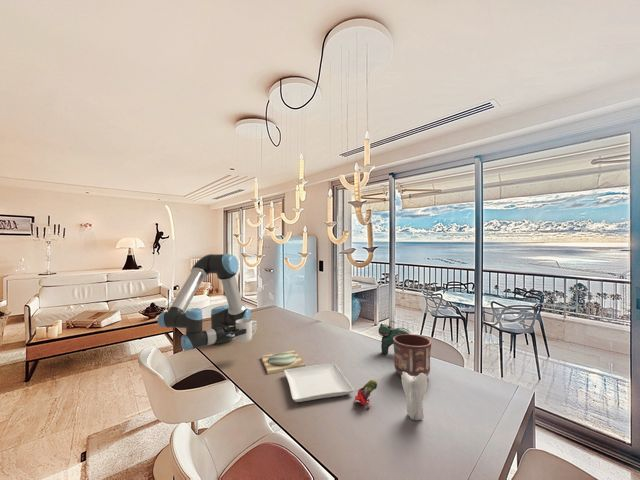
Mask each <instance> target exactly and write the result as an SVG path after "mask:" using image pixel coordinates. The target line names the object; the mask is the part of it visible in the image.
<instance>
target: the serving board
mask: <svg viewBox="0 0 640 480" xmlns="http://www.w3.org/2000/svg"><path fill="white" fill-rule="evenodd" d="M260 359H261V362H262V363H263V366H264V368H265V372H266V373H267V375H269V374H274V373H275V374H276V373H281V372H284V370H287V369H293V368H300V367H306V363H305V362H304V360H303V359H302V358H301V357H300V356H299V354H298V353H297V352H296V350H288V351H282V352H277V353H271V354H264V355H261V356H260Z"/></svg>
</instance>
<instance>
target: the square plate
mask: <svg viewBox="0 0 640 480" xmlns="http://www.w3.org/2000/svg"><path fill="white" fill-rule="evenodd" d="M283 373H284V375H285V377H286V380H287V383H288V385H289V390H290V395H291V398H292V400H293V401H294V402H295V403H299V402H300V403H302V402H308V401H314V400H319V399H326V398H333V397H340V396H346V395H350V394H352V393H354V391H355V388H354V387H353V386H352V384H351V383H350V382H349V381H348V379H347V377H345V375H344V374H343V373H342V371H341V370H340V368H339V367H338V366H337V364H336V363H325V364H316V365H308V366H306V365H305V367H300V368H293V369H287V370H284V371H283Z"/></svg>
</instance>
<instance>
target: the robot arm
mask: <svg viewBox="0 0 640 480" xmlns="http://www.w3.org/2000/svg"><path fill="white" fill-rule="evenodd" d="M238 271H239V260H238V258H237V256H235V255H234V254H230V253H229V254H228V253H223V254H217V253H216V254H212V253H211V254H207V255H204V256H203V257H201V258H200V259H199V260H197V261H196V262H195V263H194V265H193V266H192V267H191V269H190V274H189V275H188V277H187V279H186V281H185V282H184V284H183V285H182V287H181V289H179V292H178V294H177V295H176V297H175V299H173V300H174V301H173V302H172V303H171V305H170V307H169V309H168V310H167V311H163V312H161V313H160V314H159V315H158V318H157V324H158V326H159V327H161V328H167V329H169V328H175V329H185V333H184V334H183V335H182V336H181V338H180V346H181V348H182V350H183V351H190V350H194V349H198V348H202V347H206V346H210V345H223V344H227V343H229V342H231V341H232V340H233V339H234V338H236V336H239V335H242V334H245V332H246V329H241V330H239V329H236V320H239V319H246V318H247V319H251V315H252V313H251V312H252V311H251V309H250V308H249V307H248V308H247V307H246V304H245V303H243V302H242V297H241V294H240V289H239V285H238V281H237V278H236V275H237V273H238ZM210 274H216V276H217V279H218V280H220V281H221V285H222V288H223V290H224V294H225V297H226V301H227V304H228V305H227V304H226V305H219V306H215V307H213V308H212V309H211V310H210V321H211V323H210V326H211V328H210V329H205V330H203V310H202V309H201V308H199V307H194V308H193V307H192V308H188V307H189V305H190V303H191V302H192V300H193V298H194V296H195V294H196V293H197V291H198V289H199V288H200V286H201V284H202V282H203V280H204V279H206V278H207V276H209V275H210ZM257 328H258V325H257V324H255V322H253V323H252V331H254V330H255V329H256V330H257Z"/></svg>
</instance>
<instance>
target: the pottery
mask: <svg viewBox="0 0 640 480" xmlns="http://www.w3.org/2000/svg"><path fill="white" fill-rule="evenodd" d="M392 345H393V353H394V354H393V355H394V356H393V359H394V362H393V363H394V369H395V371H396V373H397V374H398V375H399V376H400V377H401V375H402V374H403V373H402V372H405V373H406V372H407V373H408V374H409V375H410V376H414V377H416V376H418V375H419V374H420V373H424V374H425V375H426V376H427V377H428V376H429V375H430V374H431V373H430V372H431V350H432V340H431V339H429V338H427V337H424V336H422V335H418V334H412V333H411V334H410V333H409V334H402V335H397V336H395V337H394V338H393V344H392Z"/></svg>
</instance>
